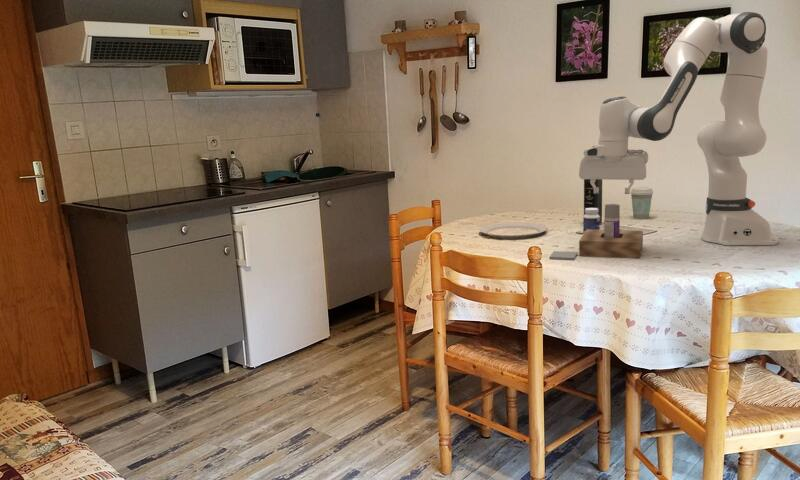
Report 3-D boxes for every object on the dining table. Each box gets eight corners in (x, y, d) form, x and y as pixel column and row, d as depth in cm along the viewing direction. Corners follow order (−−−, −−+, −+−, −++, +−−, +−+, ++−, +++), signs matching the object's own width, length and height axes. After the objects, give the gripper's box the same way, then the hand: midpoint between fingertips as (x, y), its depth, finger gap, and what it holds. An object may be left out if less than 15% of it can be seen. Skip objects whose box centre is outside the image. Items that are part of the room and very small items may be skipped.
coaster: (577, 254, 200) (577, 252, 200) (574, 260, 194) (574, 257, 194) (553, 253, 203) (553, 251, 203) (549, 259, 197) (549, 256, 197)
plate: (554, 238, 226) (554, 233, 226) (484, 242, 226) (484, 237, 226) (538, 225, 251) (538, 220, 251) (475, 228, 251) (475, 224, 251)
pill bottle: (600, 237, 223) (600, 209, 221) (583, 237, 224) (583, 210, 222) (598, 233, 228) (599, 207, 226) (582, 234, 230) (582, 207, 227)
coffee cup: (625, 217, 256) (626, 188, 253) (642, 215, 258) (643, 186, 256) (639, 220, 248) (639, 190, 245) (657, 218, 250) (658, 188, 248)
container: (616, 248, 205) (616, 203, 202) (621, 251, 201) (622, 205, 198) (601, 249, 205) (602, 204, 202) (607, 252, 201) (607, 206, 198)
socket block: (642, 245, 207) (642, 230, 206) (639, 258, 191) (639, 242, 190) (586, 243, 215) (586, 229, 214) (579, 255, 199) (579, 240, 198)
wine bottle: (596, 226, 242) (596, 148, 236) (582, 225, 246) (583, 148, 239) (602, 223, 246) (603, 147, 240) (589, 222, 250) (590, 147, 243)
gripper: (648, 148, 195) (646, 192, 198) (581, 149, 203) (580, 191, 206) (647, 150, 189) (646, 195, 192) (578, 150, 197) (577, 194, 200)
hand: (611, 193), depth 199 cm, fingers open, 8 cm apart
